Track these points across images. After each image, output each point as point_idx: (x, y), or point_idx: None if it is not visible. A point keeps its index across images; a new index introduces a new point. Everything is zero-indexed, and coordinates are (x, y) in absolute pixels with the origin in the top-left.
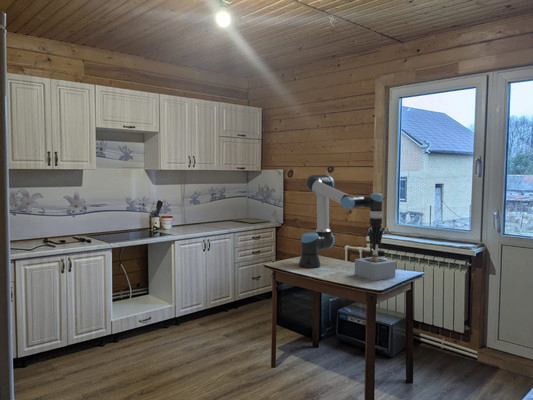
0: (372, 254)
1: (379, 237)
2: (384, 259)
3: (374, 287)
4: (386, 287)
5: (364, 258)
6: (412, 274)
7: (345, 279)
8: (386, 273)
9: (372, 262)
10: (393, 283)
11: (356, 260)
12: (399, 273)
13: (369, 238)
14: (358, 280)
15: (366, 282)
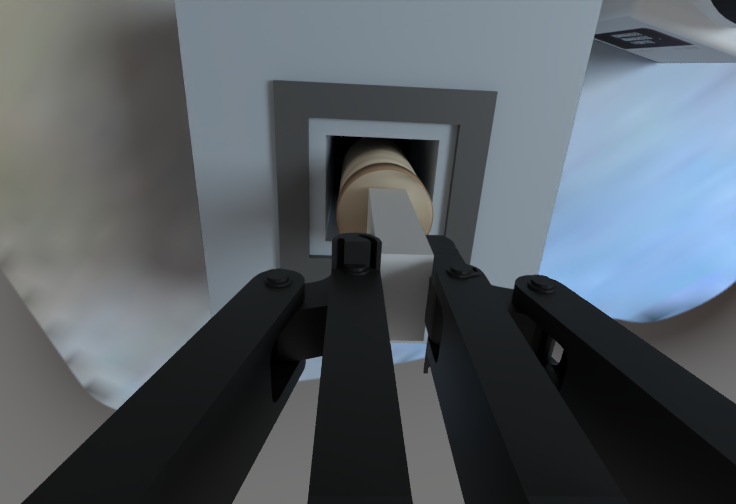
0: (362, 185)
1: (589, 432)
2: (523, 217)
3: (126, 371)
4: None
5: (356, 9)
6: (651, 285)
7: (35, 101)
8: None
9: (261, 256)
10: (313, 369)
11: (180, 13)
12: (612, 213)
13: (182, 357)
14: (131, 190)
15: (155, 265)
